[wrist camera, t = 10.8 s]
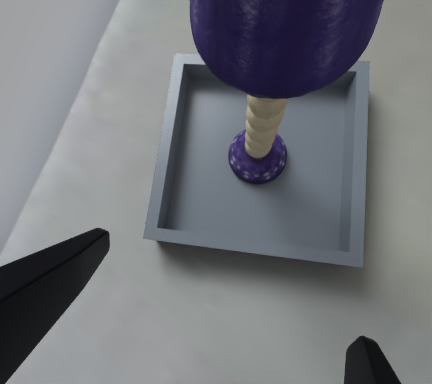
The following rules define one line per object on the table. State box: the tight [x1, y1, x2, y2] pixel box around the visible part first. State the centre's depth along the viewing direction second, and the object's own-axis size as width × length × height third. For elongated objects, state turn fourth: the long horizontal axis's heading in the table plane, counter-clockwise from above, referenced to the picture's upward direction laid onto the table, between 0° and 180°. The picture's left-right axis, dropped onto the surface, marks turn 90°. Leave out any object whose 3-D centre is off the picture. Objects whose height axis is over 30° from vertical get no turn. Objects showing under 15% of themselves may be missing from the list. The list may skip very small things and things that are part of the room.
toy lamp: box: [190, 0, 384, 184], centre depth 11 cm, size 5×5×17 cm
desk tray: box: [143, 54, 370, 268], centre depth 19 cm, size 14×14×2 cm
